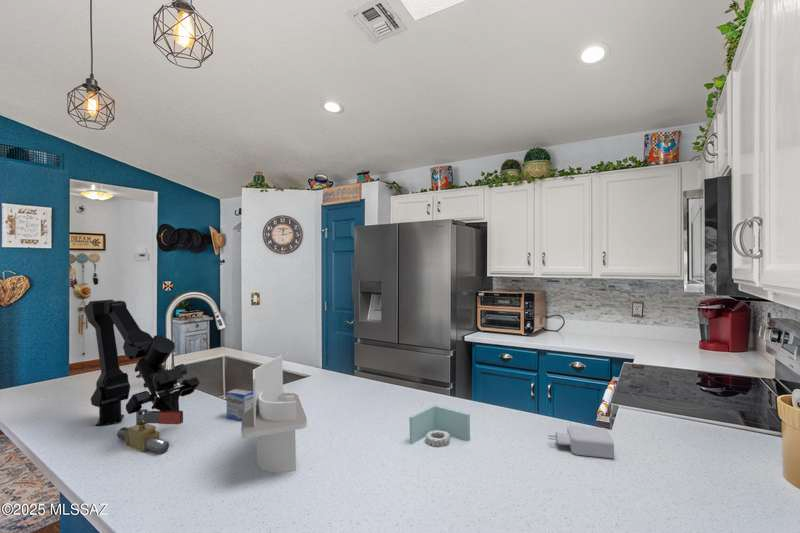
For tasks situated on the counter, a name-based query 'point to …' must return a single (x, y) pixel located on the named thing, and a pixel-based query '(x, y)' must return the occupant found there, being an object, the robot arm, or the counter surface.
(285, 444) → the architectural model
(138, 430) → the valve
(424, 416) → the l-shaped corner panel
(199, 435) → the counter surface
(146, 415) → the lever
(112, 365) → the robot arm
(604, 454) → the charger
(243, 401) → the medicine box
